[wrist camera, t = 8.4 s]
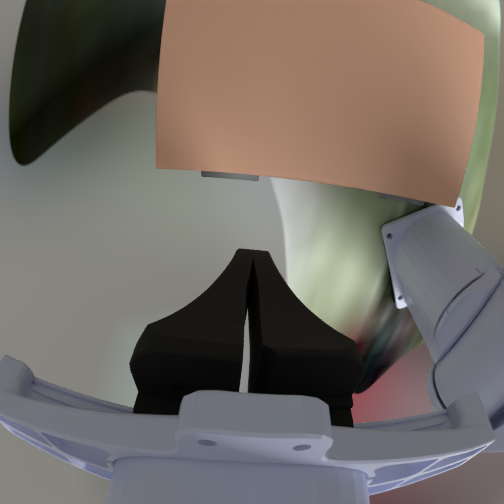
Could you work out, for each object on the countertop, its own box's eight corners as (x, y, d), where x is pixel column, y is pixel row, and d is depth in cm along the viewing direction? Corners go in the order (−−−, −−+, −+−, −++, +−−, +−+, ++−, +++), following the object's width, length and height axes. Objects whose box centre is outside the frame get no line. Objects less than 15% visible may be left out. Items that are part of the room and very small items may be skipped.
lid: (445, 208, 16) (452, 214, 15) (161, 171, 16) (156, 176, 15) (475, 26, 10) (484, 25, 9) (179, -41, 9) (174, -47, 8)
